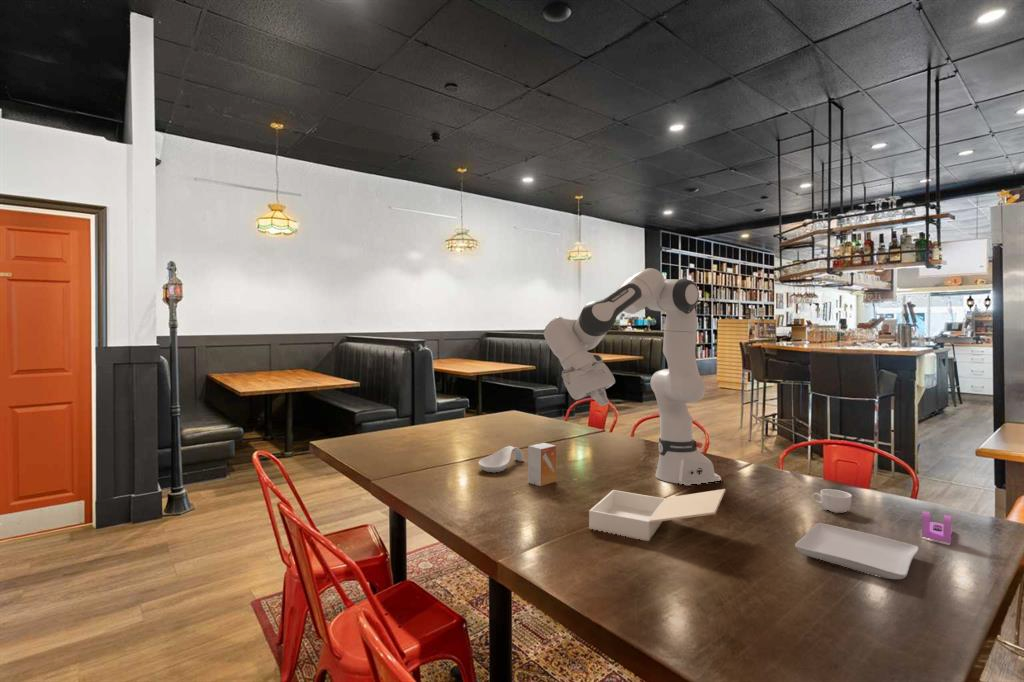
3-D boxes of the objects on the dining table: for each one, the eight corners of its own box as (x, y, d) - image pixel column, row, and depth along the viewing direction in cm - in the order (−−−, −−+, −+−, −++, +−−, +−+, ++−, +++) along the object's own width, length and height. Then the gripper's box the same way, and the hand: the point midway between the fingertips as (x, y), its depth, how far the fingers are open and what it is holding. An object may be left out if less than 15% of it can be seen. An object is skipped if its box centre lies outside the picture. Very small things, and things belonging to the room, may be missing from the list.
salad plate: (817, 532, 133) (817, 520, 133) (919, 558, 118) (919, 544, 118) (792, 558, 118) (792, 544, 118) (906, 592, 103) (906, 575, 103)
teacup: (851, 509, 149) (851, 491, 149) (851, 518, 143) (852, 499, 143) (812, 503, 155) (812, 486, 155) (811, 511, 148) (811, 493, 148)
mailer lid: (714, 512, 119) (715, 514, 119) (725, 488, 136) (725, 490, 136) (649, 520, 127) (650, 522, 127) (667, 497, 144) (668, 499, 144)
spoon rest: (497, 477, 182) (497, 458, 182) (472, 472, 189) (472, 453, 189) (531, 463, 202) (531, 445, 202) (507, 459, 209) (507, 441, 208)
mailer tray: (589, 528, 135) (589, 510, 135) (612, 506, 152) (613, 489, 152) (648, 541, 127) (648, 521, 127) (666, 515, 144) (666, 498, 144)
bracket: (950, 546, 125) (951, 518, 124) (921, 539, 128) (922, 513, 128) (952, 530, 134) (952, 505, 134) (925, 525, 138) (925, 500, 138)
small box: (540, 487, 171) (540, 449, 170) (527, 482, 175) (527, 445, 175) (556, 482, 176) (556, 445, 176) (543, 478, 181) (543, 442, 181)
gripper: (566, 364, 140) (594, 406, 136) (603, 354, 155) (629, 392, 151) (552, 377, 144) (578, 418, 139) (589, 366, 159) (614, 402, 155)
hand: (605, 404), depth 145 cm, fingers closed
